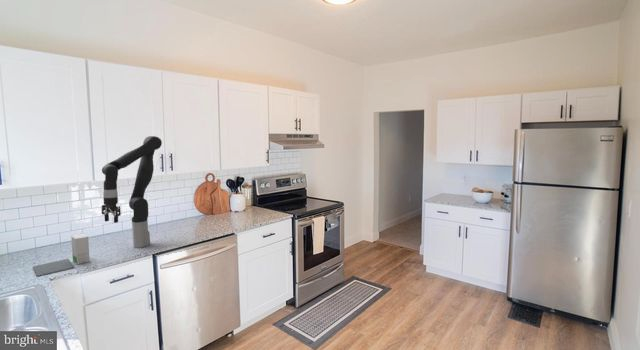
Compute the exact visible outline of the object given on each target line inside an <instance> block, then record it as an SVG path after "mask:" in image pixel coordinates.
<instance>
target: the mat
mask: <svg viewBox="0 0 640 350" xmlns="http://www.w3.org/2000/svg"><path fill="white" fill-rule="evenodd" d="M32 268H33V270H34V273H35V275H36V278H38V276H39V277H42V275H43V276H46V275H50V274H56V273H60V272H63V271H68V270H72V269H75V266H74V264H73V263H72V262H71V260H70V259H69V258H65V259H60V260H56V261H55V260H54V261H50V262H47V263H42V264H37V265H33V266H32Z"/></svg>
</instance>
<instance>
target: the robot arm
mask: <svg viewBox="0 0 640 350" xmlns="http://www.w3.org/2000/svg"><path fill="white" fill-rule="evenodd" d="M162 144H163V142H162V139H161V138H160V137H158V136H153V135H152V136H149V135H148V136H147V137H145V138H144V140H143V143H142V145H140V146H138V147H136V148H135V149H132V150H130V151H128V152H126V153H124V154H123V155H121V156H120V157H118V158H116V159H115V160H112V161H110V162H108V163H106V164H105V165H104V166H102V168H101V173H102V174H104V176H105V177H104V180H103V191H102V192H103V193H102V194H103V205H101V214H102V215H103V216H104V222H109V221H110V217H109V216H110V214H111V215H112V216H113V223H114V224H115V223H116V224H117V223H119V217H120V216H121V214H122V213H121V212H122V211H121V206H119V205H118V203H119V199H118V198H119V196H118V195H119V193H118V183H117V181H118V176H119V171H120V170H121V169H124V168H127V167H128V166H130V165H132V164H133V163H134V162H136V161H137V160H139V159H140V161H139V164H138V168H137V172H136V178H135V180H134V181H135V182H134V187H133V189H132V193H131V196H130V198H129V201H128V205H129V208H130V209H131V210H133V212H132V213H133V216H132V217H131V227H132V229H131V230H132V241H133V247H134V248H135V249H140V248H146V247H148V246H150V245H151V235H150V234H151V233H150V230H149V221H148V218H149V203H148V200H147V199H146V198H144V197H145V193H146V190H147V188H148V186H149V185H150V183H151V181H152V179H153V174H154V167H155V166H154V154H155V151H156V150H159V149H160V148H161V147H162ZM117 205H118V206H117Z"/></svg>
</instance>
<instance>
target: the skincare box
mask: <svg viewBox="0 0 640 350" xmlns="http://www.w3.org/2000/svg"><path fill="white" fill-rule="evenodd" d="M70 239H71V251H72V253H71V254H72V262H74V263H75V264H76V265H81V264H84V263H88V262H91V261H90V260H91V259H90V246H89V245H90V243H89V236H88V235H87V234H85V233H80V234H75V235H74V234H73V235H71V236H70Z"/></svg>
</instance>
